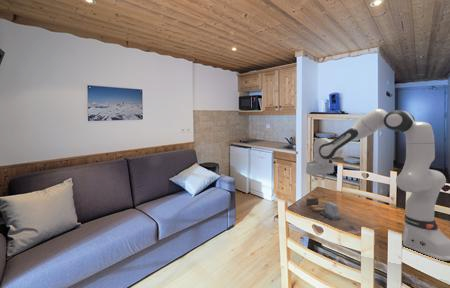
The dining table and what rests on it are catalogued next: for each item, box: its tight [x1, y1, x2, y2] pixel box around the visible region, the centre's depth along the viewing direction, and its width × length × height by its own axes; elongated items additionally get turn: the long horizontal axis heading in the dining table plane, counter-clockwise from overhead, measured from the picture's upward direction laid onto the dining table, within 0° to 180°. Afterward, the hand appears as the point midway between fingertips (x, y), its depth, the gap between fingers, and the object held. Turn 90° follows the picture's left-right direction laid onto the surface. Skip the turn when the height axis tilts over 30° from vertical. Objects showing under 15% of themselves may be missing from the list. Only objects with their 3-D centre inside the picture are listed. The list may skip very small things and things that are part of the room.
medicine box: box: [324, 201, 339, 217], centre depth 146 cm, size 8×4×9 cm, turn 13°
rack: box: [305, 197, 325, 213], centre depth 160 cm, size 12×9×6 cm
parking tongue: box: [319, 211, 342, 221], centre depth 146 cm, size 12×7×2 cm, turn 13°
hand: (319, 179), depth 156 cm, fingers open, 4 cm apart
